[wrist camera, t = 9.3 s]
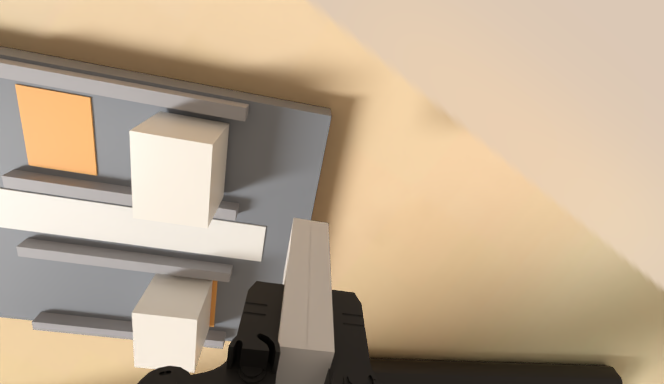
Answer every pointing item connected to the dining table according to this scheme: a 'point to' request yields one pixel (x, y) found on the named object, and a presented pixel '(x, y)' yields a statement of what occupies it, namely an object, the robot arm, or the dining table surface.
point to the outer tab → (178, 169)
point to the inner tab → (171, 322)
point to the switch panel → (116, 194)
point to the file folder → (489, 372)
